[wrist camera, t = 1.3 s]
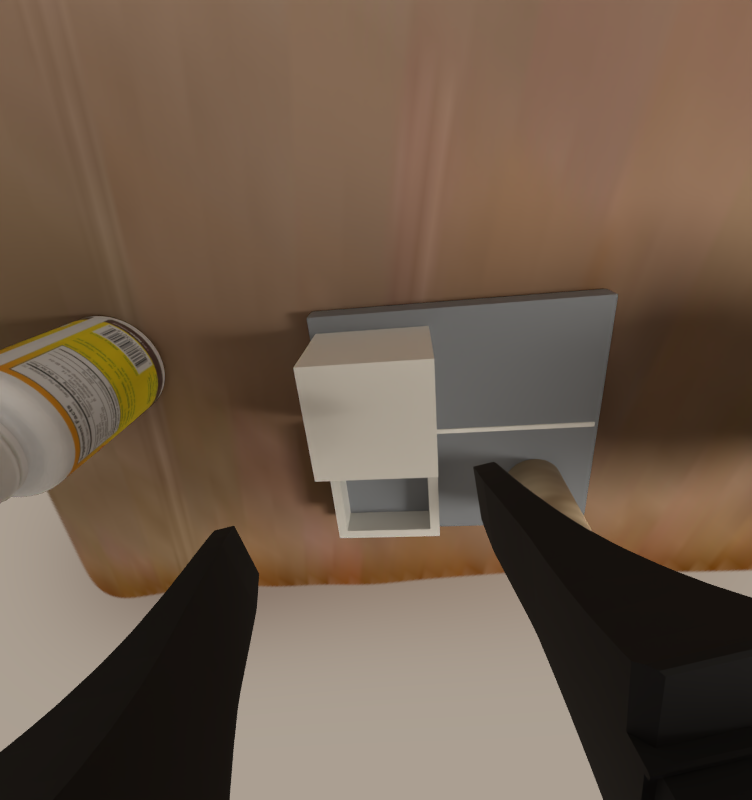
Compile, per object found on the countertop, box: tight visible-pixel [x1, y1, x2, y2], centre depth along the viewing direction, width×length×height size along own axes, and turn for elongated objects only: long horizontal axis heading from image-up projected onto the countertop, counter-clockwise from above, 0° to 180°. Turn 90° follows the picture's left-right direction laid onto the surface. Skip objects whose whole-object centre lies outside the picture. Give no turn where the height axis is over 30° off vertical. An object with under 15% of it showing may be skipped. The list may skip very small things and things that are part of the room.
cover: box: [293, 326, 438, 482], centre depth 19 cm, size 5×5×4 cm
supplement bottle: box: [0, 316, 165, 503], centre depth 18 cm, size 6×6×10 cm
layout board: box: [307, 289, 618, 538], centre depth 21 cm, size 14×13×4 cm
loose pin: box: [508, 459, 592, 531], centre depth 20 cm, size 3×3×6 cm
